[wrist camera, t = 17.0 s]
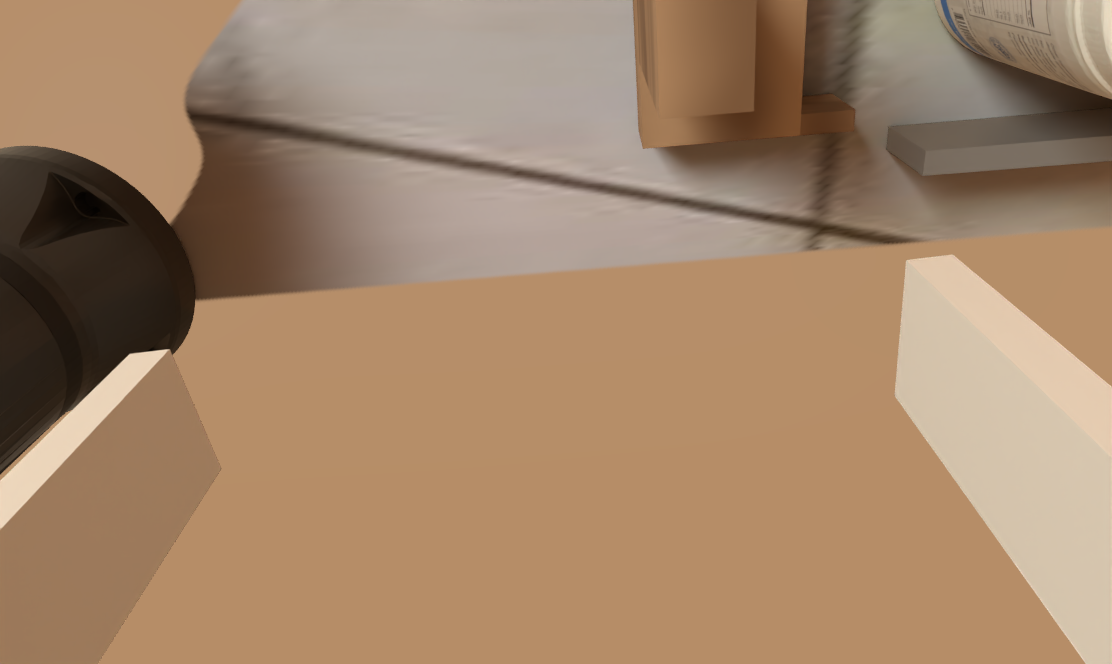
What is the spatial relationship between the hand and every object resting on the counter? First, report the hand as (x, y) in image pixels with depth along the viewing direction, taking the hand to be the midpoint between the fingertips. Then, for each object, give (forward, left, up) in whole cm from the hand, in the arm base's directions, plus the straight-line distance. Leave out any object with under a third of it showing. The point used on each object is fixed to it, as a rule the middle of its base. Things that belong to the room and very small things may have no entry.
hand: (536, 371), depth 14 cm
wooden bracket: (+8, +4, -29) cm, 31 cm away
